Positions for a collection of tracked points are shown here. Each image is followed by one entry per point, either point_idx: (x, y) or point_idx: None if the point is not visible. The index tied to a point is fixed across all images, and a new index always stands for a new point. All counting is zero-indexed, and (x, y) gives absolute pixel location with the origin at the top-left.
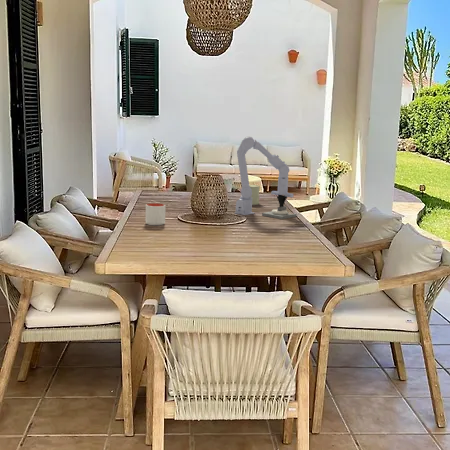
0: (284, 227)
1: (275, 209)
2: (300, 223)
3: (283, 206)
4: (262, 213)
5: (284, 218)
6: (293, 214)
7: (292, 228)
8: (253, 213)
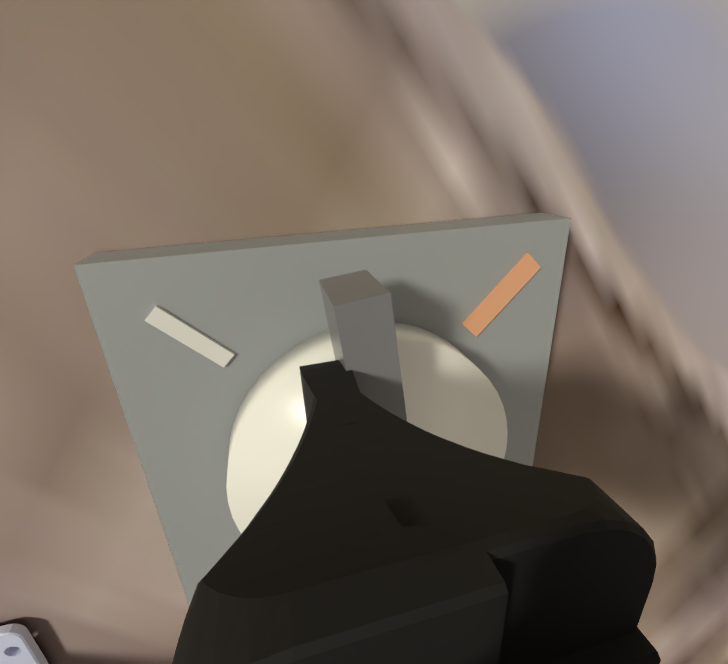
0: (667, 640)
1: (235, 464)
2: (719, 473)
3: (374, 394)
4: None
5: None
6: (555, 303)
7: (717, 613)
8: (37, 649)
